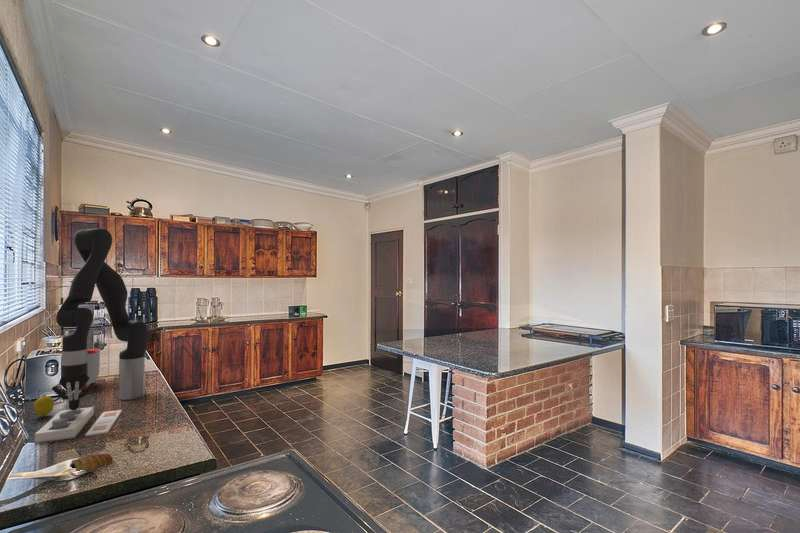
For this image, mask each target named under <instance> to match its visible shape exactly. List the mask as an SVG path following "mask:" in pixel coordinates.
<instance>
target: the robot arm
mask: <svg viewBox="0 0 800 533" xmlns="http://www.w3.org/2000/svg"><path fill="white" fill-rule="evenodd" d="M73 236H74V237H73V241H74V245H75V247H76V249H77V251H78V254H79V255H80V257H81V258H82V260H83V261H84V264H83V265H82V267H81V268H80V269H79V270H77V272H76V273H75V275H74V276H73V279H72V281H71V284H70V288H69V291H68V295H67V297H66V298H65V300H64V301H63V303H62V305H61V306H60V307H59V309H58V311H57V312H56V315H55V321H56V324H57V325H58V326H59V327H61V328H76V329H75V331H74V332H72V333H68V334H65V335H63V336H62V340H61V343H62V344H61V349H62V350H61V352H62V356H61V379H60V381H59V382H58V384H55V385H54V386H52V387H51V390H52V391H53V392H54V393H56V395H57V396H59V397H60V398H61V399H62V400H68V410H77V409H80V407H81V399H82V398H84V397H85V396H86V395H87V394H88V393H89V392H90V391H91V390H92V388H93V387H94V385H95V386H96V384H97V382H95V381H91V380H89V377H88V353H87V349H88V337H89V336H88V335H89V333H90V329H91V326H92V323H93V320H94V313H93V312H92V310H91V308H90V309H89V308H88V307H79V306H80V305H84V304H88V303H90V302H91V301H92V298H93V294H94V291H95V287H96V288H97V291H98V293H99V295H100V297H101V300H102V302H103V305H104V307H105V309H106V311H107V313H108V315H109V318H110V322H111V325H112V329H113V333H114V336H115V338H116V339H117V340H119V341H121V342H127V347H126V348H125V349H124V350H122V351H120V352H119V355H118V359H119V360H118V369H119V370H118V400H121V401H129V400H135V399H139V398H144V396H145V394H146V372H145V366H146V364H145V359H146V358H145V356H146V351H147V349H148V340H149V339H148V337H149V330H148V326H147V324H146V322H144V321H142V320H131V318H130V316H129V314H128V311H127V309H126V308H127V307H126V306H127V300H128V289H127V286H126V284H125V282H124V280H123V277H122V276H121V275H120V273H118V272H117V271H116V270H115V269H113V268H112V267H111V266H110V265H109V264H108V263H107V262H106V259H107V257H108V254H109V252H110V250H111V248H112V245H113V237H112V234H111V233H110V231H109V230H108V229H106V228H101V227H100V228H87V229H79V230H78V231H76V232H75V233H74V235H73ZM86 383H87V388H86V390H83V392H82V390H81V388H83V387H84V385H85V384H86ZM61 385H62V386H63V387H64V388H65V389H66V390H67V391H65V390H63V389H62V386H61ZM81 392H82V393H81Z"/></svg>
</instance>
